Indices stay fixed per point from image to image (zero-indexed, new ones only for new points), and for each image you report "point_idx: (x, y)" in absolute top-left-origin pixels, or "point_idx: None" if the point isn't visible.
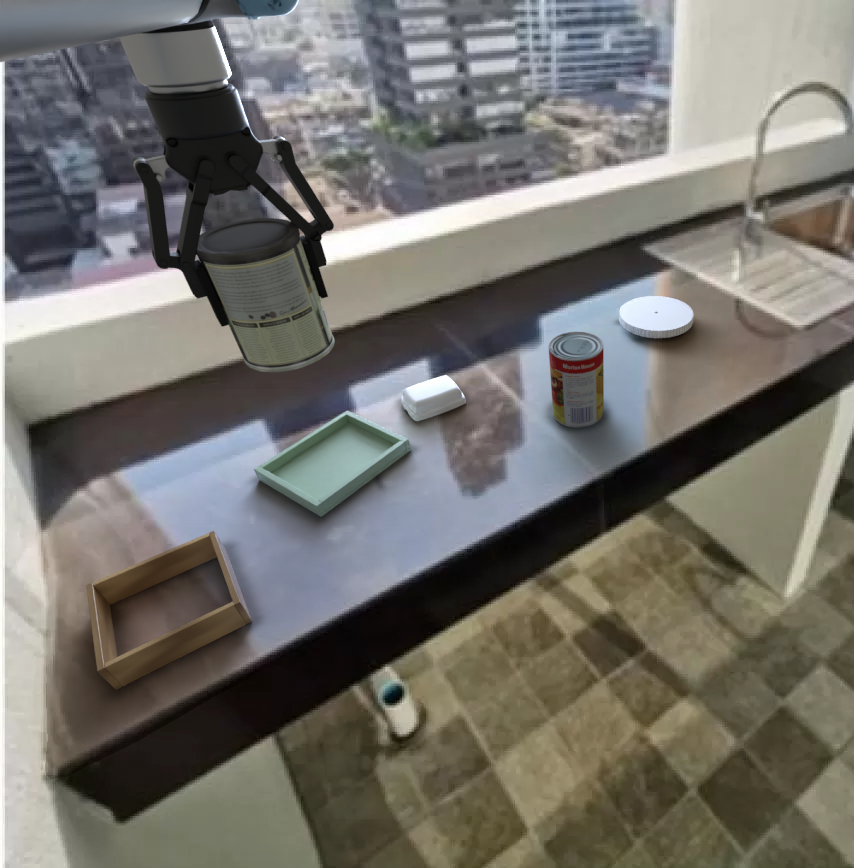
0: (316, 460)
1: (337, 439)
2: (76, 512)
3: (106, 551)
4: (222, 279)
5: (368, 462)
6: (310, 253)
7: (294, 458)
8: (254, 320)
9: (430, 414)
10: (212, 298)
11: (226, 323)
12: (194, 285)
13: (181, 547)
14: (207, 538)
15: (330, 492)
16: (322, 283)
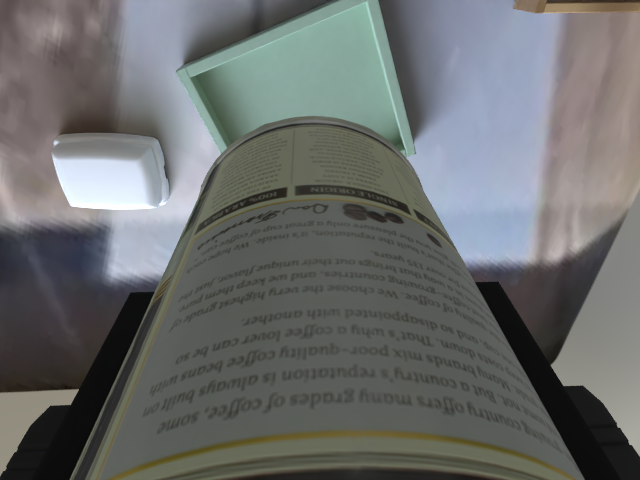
0: None
1: None
2: (596, 217)
3: (613, 121)
4: (550, 419)
5: (258, 73)
6: (52, 475)
7: None
8: (424, 225)
9: (127, 136)
10: (539, 367)
11: (483, 286)
12: (609, 440)
13: (588, 2)
14: (549, 2)
15: (342, 7)
16: (114, 335)
